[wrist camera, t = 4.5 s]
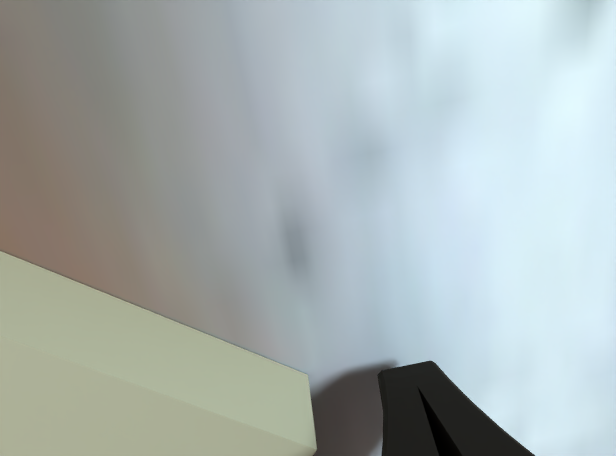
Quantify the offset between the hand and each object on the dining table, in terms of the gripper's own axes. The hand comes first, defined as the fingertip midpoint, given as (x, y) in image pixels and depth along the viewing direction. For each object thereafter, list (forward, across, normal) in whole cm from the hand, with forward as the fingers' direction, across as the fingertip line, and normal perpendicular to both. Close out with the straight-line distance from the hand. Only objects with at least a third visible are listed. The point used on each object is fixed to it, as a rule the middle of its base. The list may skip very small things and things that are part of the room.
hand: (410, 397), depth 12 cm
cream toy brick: (+1, +8, 0) cm, 8 cm away
